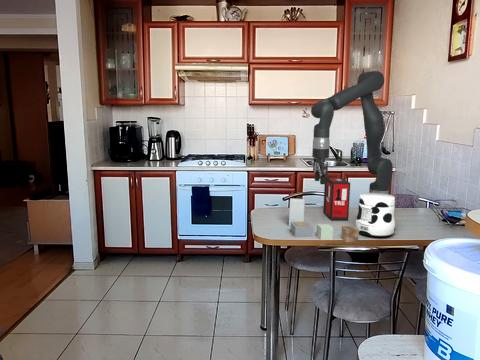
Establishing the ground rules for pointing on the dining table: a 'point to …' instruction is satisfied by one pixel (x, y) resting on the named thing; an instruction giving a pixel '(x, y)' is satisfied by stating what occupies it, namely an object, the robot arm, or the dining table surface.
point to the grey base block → (301, 229)
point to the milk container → (376, 214)
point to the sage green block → (324, 232)
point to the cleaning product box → (336, 199)
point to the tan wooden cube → (350, 234)
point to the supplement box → (296, 210)
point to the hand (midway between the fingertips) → (319, 182)
